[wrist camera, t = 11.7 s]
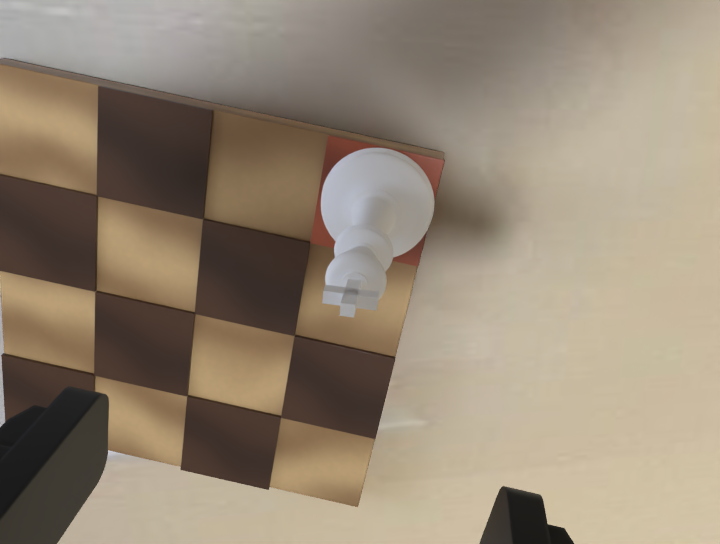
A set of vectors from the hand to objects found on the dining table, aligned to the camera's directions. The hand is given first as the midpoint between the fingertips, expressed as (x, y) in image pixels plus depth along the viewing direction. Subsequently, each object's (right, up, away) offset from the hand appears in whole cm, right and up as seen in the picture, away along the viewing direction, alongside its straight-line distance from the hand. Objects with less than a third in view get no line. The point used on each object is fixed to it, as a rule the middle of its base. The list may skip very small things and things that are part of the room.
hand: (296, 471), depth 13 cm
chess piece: (+2, +7, +16) cm, 17 cm away
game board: (-7, +3, +20) cm, 21 cm away
